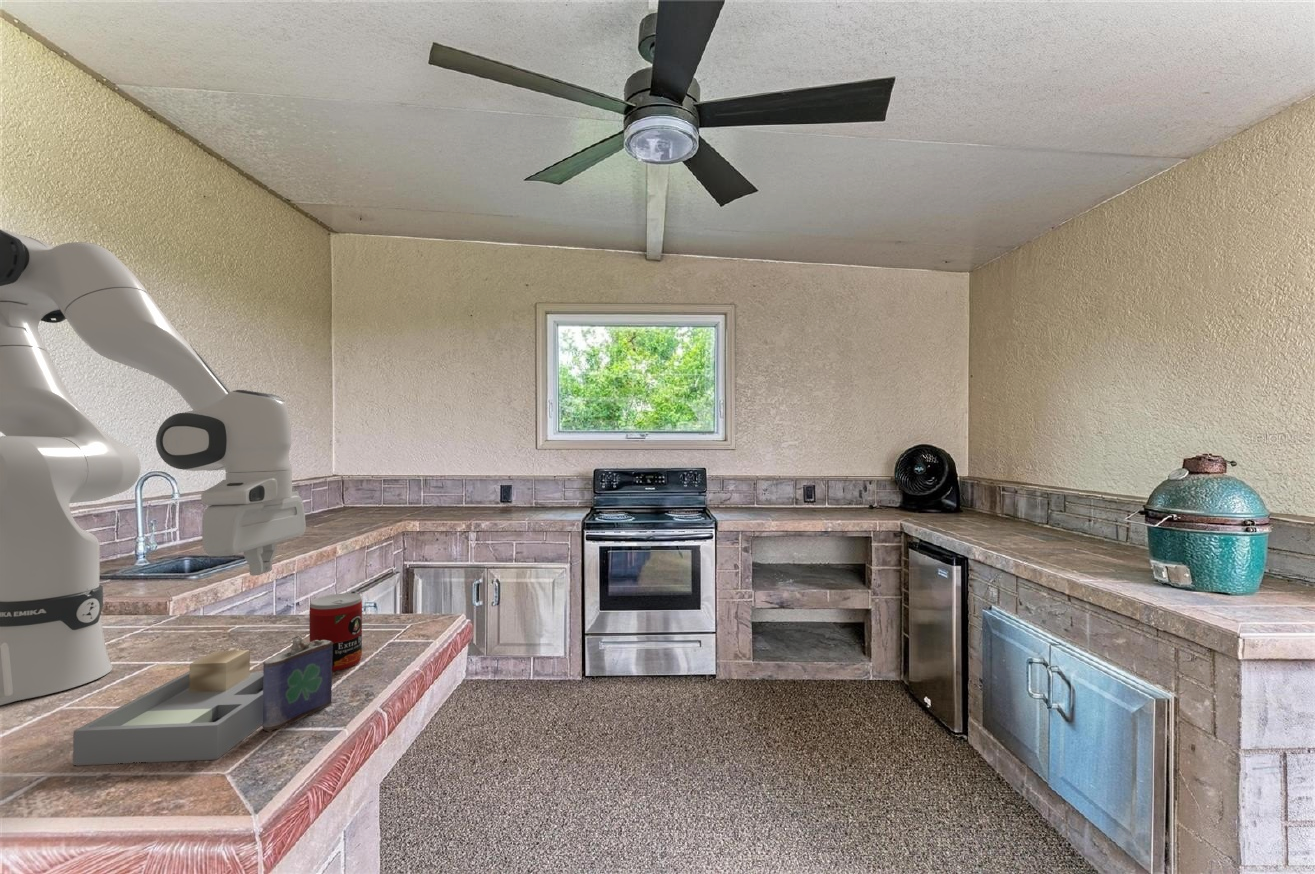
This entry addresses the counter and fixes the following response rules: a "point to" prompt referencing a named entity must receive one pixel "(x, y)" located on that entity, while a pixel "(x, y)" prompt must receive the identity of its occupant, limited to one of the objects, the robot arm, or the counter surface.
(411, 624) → the counter surface
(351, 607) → the canned food
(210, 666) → the maple block
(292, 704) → the flask
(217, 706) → the grey compartment tray
